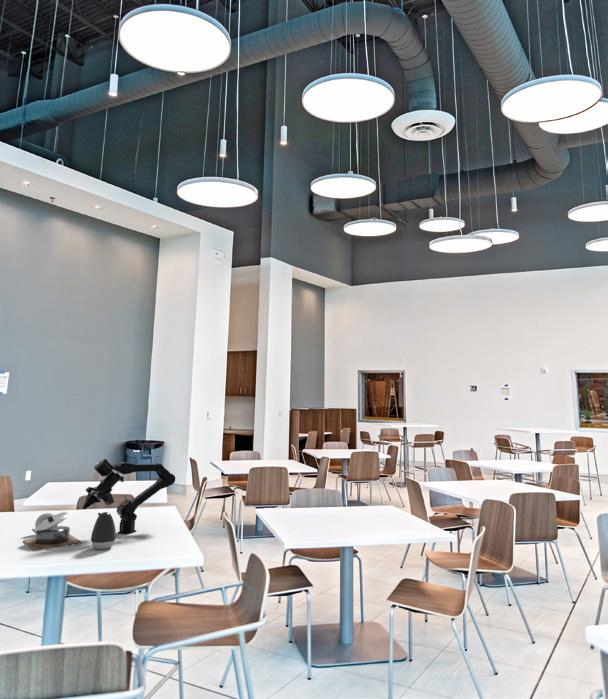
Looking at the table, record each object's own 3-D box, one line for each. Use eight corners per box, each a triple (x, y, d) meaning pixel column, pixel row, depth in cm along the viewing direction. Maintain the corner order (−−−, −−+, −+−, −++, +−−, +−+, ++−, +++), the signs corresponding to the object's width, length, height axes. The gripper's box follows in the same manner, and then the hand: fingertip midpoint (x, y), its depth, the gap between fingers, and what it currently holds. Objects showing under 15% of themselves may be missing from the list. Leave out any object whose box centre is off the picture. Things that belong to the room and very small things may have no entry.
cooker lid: (63, 512, 239) (61, 506, 239) (71, 516, 229) (69, 510, 228) (30, 529, 230) (27, 524, 229) (37, 535, 219) (34, 529, 219)
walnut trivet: (69, 535, 243) (69, 534, 243) (81, 543, 227) (82, 542, 228) (22, 541, 230) (22, 540, 230) (32, 550, 215) (33, 548, 215)
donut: (33, 535, 242) (35, 514, 243) (34, 534, 245) (36, 512, 246) (56, 534, 245) (58, 512, 246) (57, 532, 248) (59, 511, 250)
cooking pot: (61, 534, 242) (62, 523, 242) (75, 543, 225) (76, 531, 226) (30, 538, 233) (31, 527, 234) (41, 548, 216) (42, 535, 217)
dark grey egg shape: (107, 544, 227) (109, 509, 229) (119, 548, 220) (122, 512, 223) (85, 548, 219) (88, 512, 221) (97, 552, 213) (100, 515, 215)
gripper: (126, 496, 243) (101, 522, 234) (112, 491, 257) (88, 516, 249) (110, 480, 239) (84, 507, 230) (97, 477, 253) (72, 501, 245)
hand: (83, 508), depth 239 cm, fingers closed
